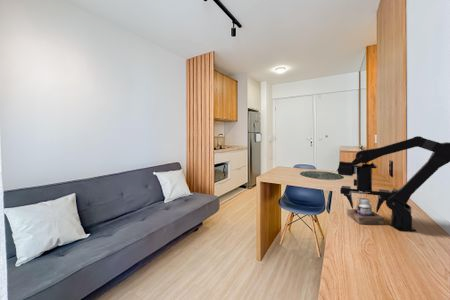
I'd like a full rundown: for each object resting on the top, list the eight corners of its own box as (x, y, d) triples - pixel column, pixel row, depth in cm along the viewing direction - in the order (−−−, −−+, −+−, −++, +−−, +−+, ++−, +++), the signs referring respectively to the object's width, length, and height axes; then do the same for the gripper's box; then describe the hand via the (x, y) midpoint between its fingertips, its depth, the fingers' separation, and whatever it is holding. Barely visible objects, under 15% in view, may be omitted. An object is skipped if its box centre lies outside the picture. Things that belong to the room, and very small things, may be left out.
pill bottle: (358, 216, 93) (357, 196, 93) (371, 218, 90) (371, 198, 89) (356, 220, 89) (356, 199, 88) (371, 223, 86) (371, 201, 85)
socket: (383, 224, 84) (383, 217, 84) (359, 224, 85) (359, 217, 85) (368, 215, 94) (368, 209, 94) (347, 215, 95) (347, 209, 95)
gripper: (388, 175, 89) (388, 208, 90) (342, 172, 100) (342, 202, 101) (391, 180, 80) (391, 216, 81) (340, 176, 91) (340, 208, 92)
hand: (364, 210), depth 89 cm, fingers open, 9 cm apart
